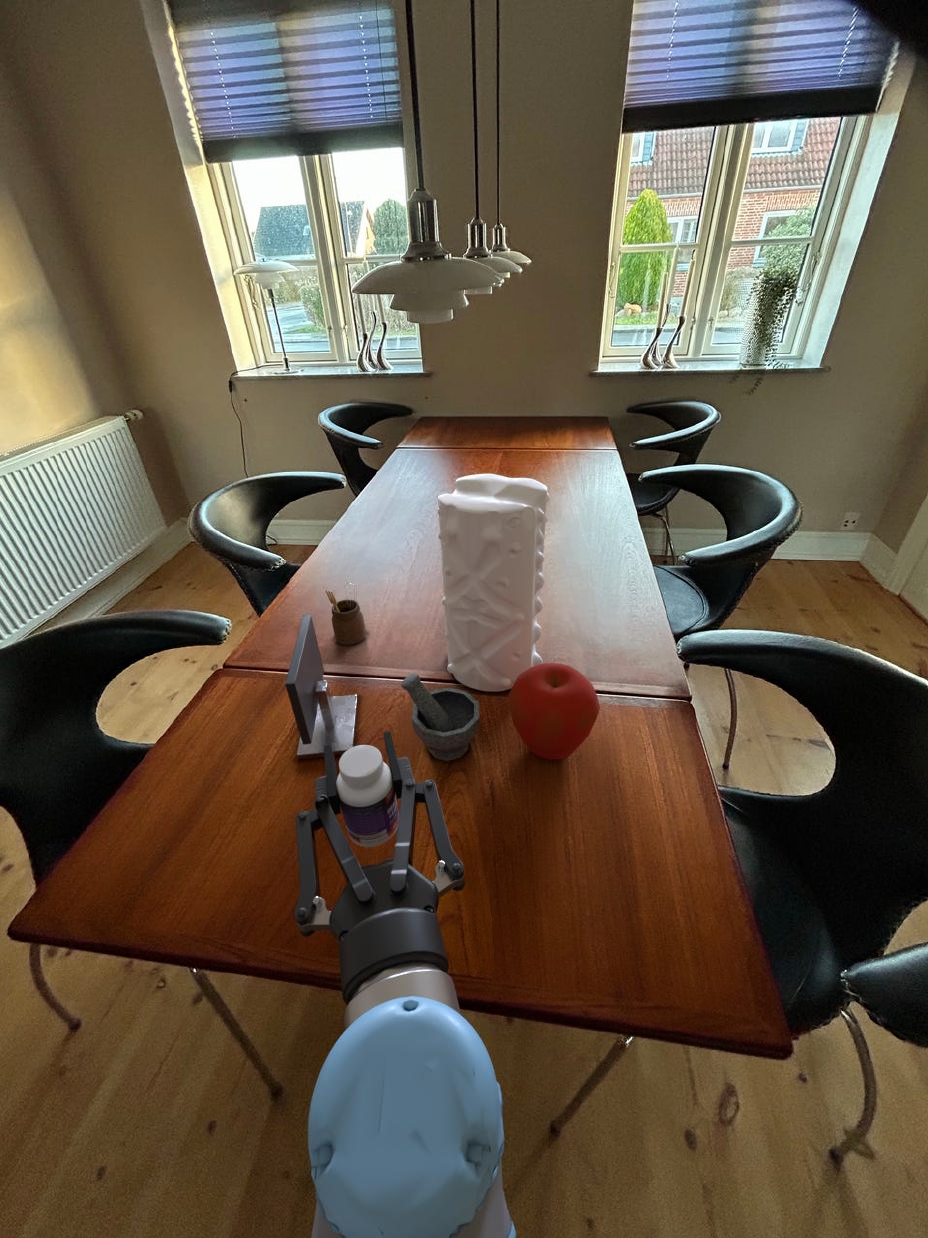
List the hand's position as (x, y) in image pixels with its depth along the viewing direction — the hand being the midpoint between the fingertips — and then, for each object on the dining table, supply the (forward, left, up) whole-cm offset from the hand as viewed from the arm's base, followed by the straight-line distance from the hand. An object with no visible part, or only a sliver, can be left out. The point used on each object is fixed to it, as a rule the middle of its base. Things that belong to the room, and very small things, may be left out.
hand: (359, 747), depth 55 cm
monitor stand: (+7, +22, -18) cm, 29 cm away
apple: (+27, -6, -18) cm, 33 cm away
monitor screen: (+6, +23, -13) cm, 27 cm away
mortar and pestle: (+17, +6, -18) cm, 26 cm away
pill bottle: (-3, -4, -6) cm, 8 cm away
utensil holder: (+24, +39, -18) cm, 50 cm away
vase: (+36, +13, -18) cm, 43 cm away
